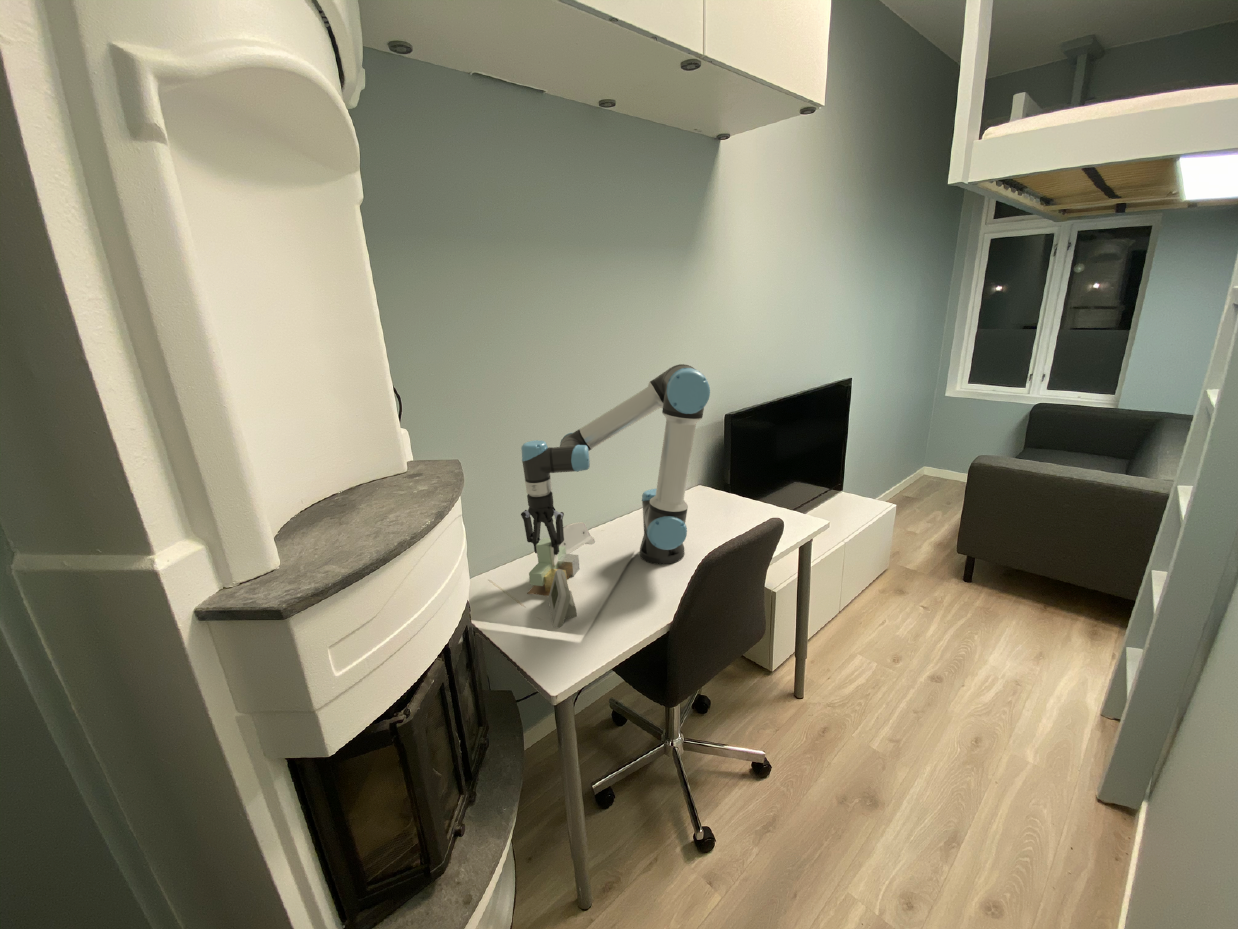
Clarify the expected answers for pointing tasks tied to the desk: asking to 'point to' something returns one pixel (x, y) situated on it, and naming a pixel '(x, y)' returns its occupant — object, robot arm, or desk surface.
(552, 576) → the mustard yellow cube
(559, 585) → the grey picture frame
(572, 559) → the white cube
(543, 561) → the stepped sage beam
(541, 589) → the deck
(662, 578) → the desk surface
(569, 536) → the white curved block
